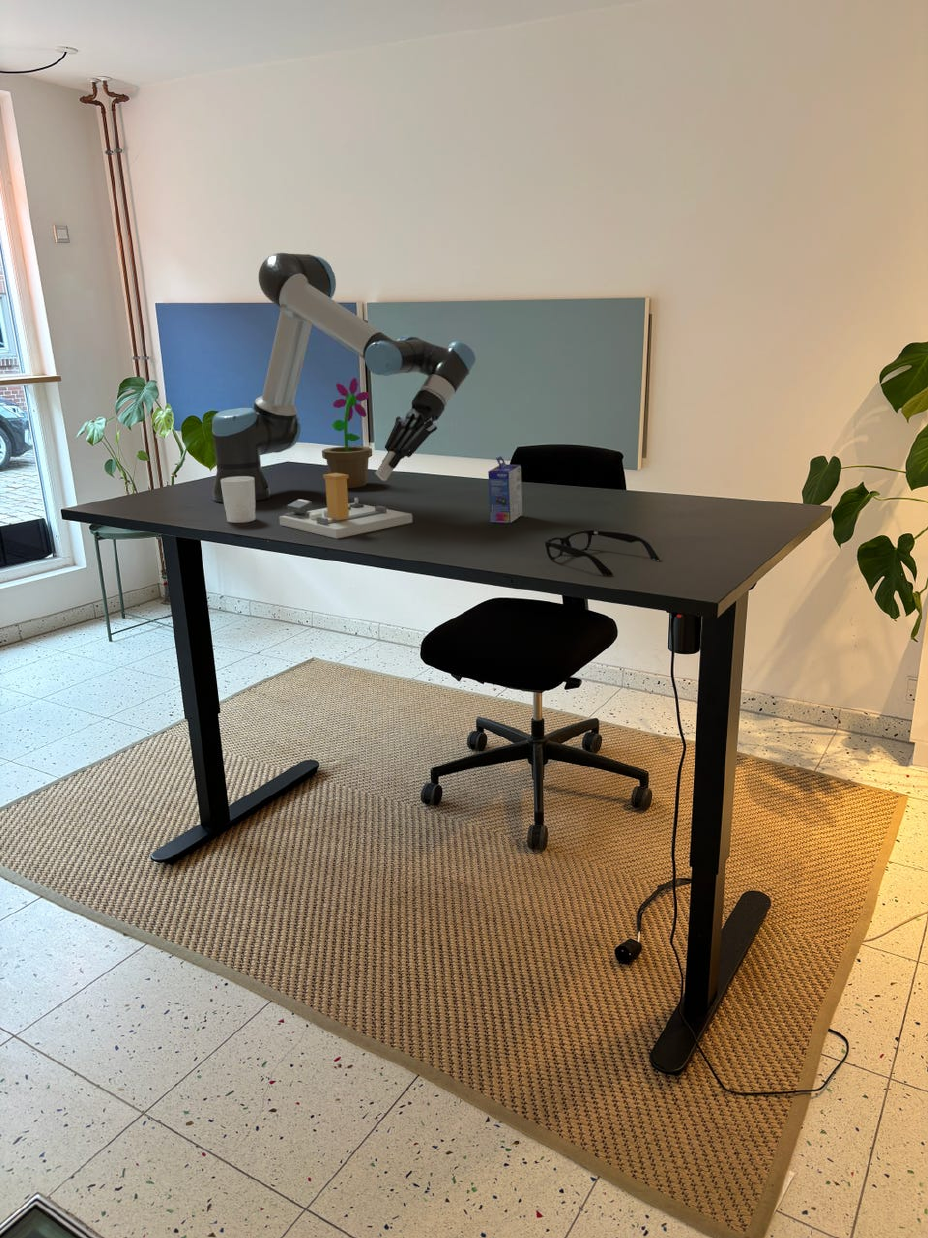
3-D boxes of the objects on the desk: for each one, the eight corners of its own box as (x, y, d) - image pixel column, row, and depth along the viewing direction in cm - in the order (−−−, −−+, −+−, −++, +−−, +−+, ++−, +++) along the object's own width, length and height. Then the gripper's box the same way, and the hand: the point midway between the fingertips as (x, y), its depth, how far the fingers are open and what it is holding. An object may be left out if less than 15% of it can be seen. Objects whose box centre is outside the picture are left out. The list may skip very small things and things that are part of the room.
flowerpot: (382, 482, 270) (377, 377, 261) (357, 490, 258) (351, 380, 248) (340, 479, 276) (334, 376, 267) (314, 487, 263) (306, 379, 254)
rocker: (288, 510, 215) (286, 504, 215) (300, 504, 217) (298, 498, 217) (301, 513, 212) (299, 507, 211) (313, 507, 214) (311, 501, 213)
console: (279, 524, 215) (277, 506, 214) (353, 510, 230) (352, 493, 228) (336, 538, 200) (335, 519, 199) (412, 522, 215) (411, 504, 213)
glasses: (590, 551, 189) (590, 527, 188) (662, 562, 176) (662, 536, 175) (536, 566, 178) (535, 541, 177) (608, 579, 166) (608, 552, 164)
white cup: (264, 518, 223) (261, 477, 220) (244, 524, 216) (240, 482, 213) (238, 515, 226) (234, 475, 223) (217, 522, 220) (213, 480, 216)
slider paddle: (325, 517, 208) (322, 474, 205) (338, 515, 211) (335, 472, 208) (338, 520, 205) (335, 476, 202) (350, 517, 208) (348, 474, 205)
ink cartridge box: (500, 514, 222) (500, 453, 217) (522, 515, 220) (522, 454, 215) (488, 522, 213) (487, 459, 208) (511, 523, 211) (510, 460, 206)
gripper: (459, 411, 218) (407, 490, 212) (422, 407, 226) (372, 483, 221) (442, 389, 212) (389, 470, 207) (406, 386, 221) (353, 463, 216)
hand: (380, 476), depth 214 cm, fingers closed
